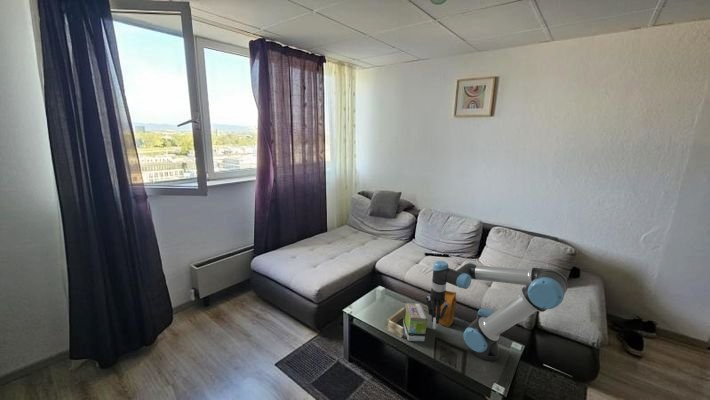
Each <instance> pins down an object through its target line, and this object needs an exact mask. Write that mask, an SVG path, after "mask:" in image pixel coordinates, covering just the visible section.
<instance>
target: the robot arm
mask: <svg viewBox="0 0 710 400" xmlns="http://www.w3.org/2000/svg"><path fill="white" fill-rule="evenodd" d="M431 279H432V280H431V290H430V295H428V296H426V297H425V300H426V302H427V304H426V305H427V310H428V314H429V315H430V316H431V322H432V329H433V330H436V329H437V328H438V324H439V319H442V318H443V316H444V314H445V311H446V309H447V307H448V306H449V304H447V303H446V302H445V292H446V291H447V283H448V284H450V285H453V286H455V287H458V288H460V289H463V290H467V289H469V288H470V286H471V284H472V280H478V281H487V282H493V283H502V284H503V283H505V284H510V285H511V284H512V285H518V286H519V285H520V286H523V287H522V288H521V293H520V294H519V295H517V296H516V297H514V298H513V299H512V300H510V301H509V302H507V303H506V304H505V305H503V306H501V307H500V308H499V309H497V310H492V309H488V308H479V310H478V311H477V315H476V318H475V319H474V320H473V321H472V322H471V323H470V325H468V326H467V327H466V328H465V330H464V332H463V334H462V335H463V339H464V343H465V344H466V345H467V346H468V349H469V350H470V352H471V353H472V354H473V355H475V356H476V357H477V358H480V359H482V360H485V361H496V360H498V358H499V357H500V348H499V342H498V341H499V339H500V335H501V334H503V333H505V332H506V331H507V330H509V329H511V328H512V327H514V326H515V325H517V324H519V323H520V322H522V321H523V320H525V319H527V318H528V317H529V316H531V315H533V314H534V313H536V312H539V313H543V312H546V311H547V310H552V309H556V307H558V306H559V305H560V304H562V303H563V300H564V297H565V294H566V292H567V291H568V287H569V286H568V280H567V278H566V277H565V276H564V275H563V274H562V273H561V272H559V271H557V270H555V269H551V268H541V267H540V268H539V267H531V268H530V269H529V268H528V269H525V268H514V267H501V266H500V267H499V266H487V265H477V264H476V263H472V262H467V263H465V264H463V265H462V266H461V267H460V268H459V269H457V270H455V269H453V268H451V267H449V263H448V262H446V261H444V260H436V261H435V262H433V268H432V278H431ZM445 290H446V291H445ZM443 303H444V308H443V310H442V312H441V305H442V304H443ZM436 306H437V314H436ZM440 312H441V315H440ZM435 315H436V316H435Z"/></svg>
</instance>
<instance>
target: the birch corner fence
mask: <svg viewBox="0 0 710 400" xmlns="http://www.w3.org/2000/svg"><path fill="white" fill-rule="evenodd" d="M404 310H405V306H404V307H403V306H402V307H401V308H400V309H398V310H397V311H396V312H395V313H394V314H392V315H391V316H389V318H387V319H386V320H385V328H384V329H385V330H387V331H388V332H390V333H391V334H394V335H395V336H397V337H399V338H403V335H404V326H403V325H402V326H401V325H400V324H398V322H399V321H401V320H403V319H404Z"/></svg>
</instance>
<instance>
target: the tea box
mask: <svg viewBox="0 0 710 400" xmlns="http://www.w3.org/2000/svg"><path fill="white" fill-rule="evenodd" d="M404 308H405V310H404V317H403V318H402V327H403V331H404V332H405V336H406V338H407V341H408V342H409V341H410V342H425V341H426V340H425V339H426V333H427V332H426V330H427V327H428V325H427V324H428V317H427V315H426V312H425V310H424V307H423V306H422V304H421V303H408V302H405V304H404Z"/></svg>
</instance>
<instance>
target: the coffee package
mask: <svg viewBox="0 0 710 400" xmlns="http://www.w3.org/2000/svg"><path fill="white" fill-rule="evenodd" d="M445 291H446V292H445V302H446V303H447V304H449V306H448V307H447V309H446V311H445V314H444V316H443V318H442V319H439V323H438V324H439V325H441V326H443V327H444V326H445V327H447V328H449V327H450V326H451V325H452V324H453V323H454V317H455V311H456V310H455V309H456V305H457V292H454V291H451V290H450V291H449V290H447V289H446V290H445ZM443 308H444V303H443V304H442V305H441V312H442V310H443ZM441 312H440V315H441ZM436 314H437V306H436ZM435 316H436V315H435Z"/></svg>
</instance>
